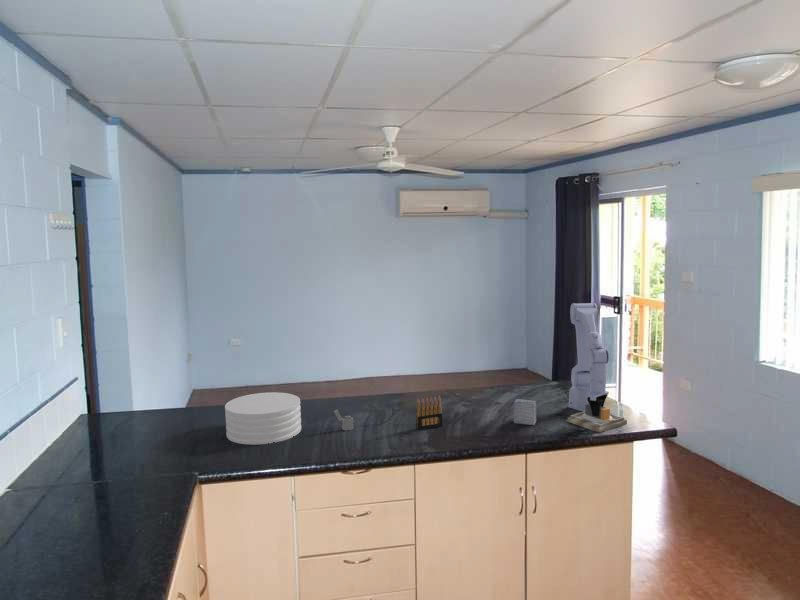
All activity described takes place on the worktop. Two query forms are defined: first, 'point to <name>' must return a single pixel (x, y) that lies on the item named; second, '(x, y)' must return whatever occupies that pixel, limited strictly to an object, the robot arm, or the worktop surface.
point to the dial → (602, 418)
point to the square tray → (597, 427)
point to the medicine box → (525, 411)
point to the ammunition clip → (428, 414)
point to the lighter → (345, 421)
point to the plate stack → (263, 418)
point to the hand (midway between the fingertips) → (597, 414)
